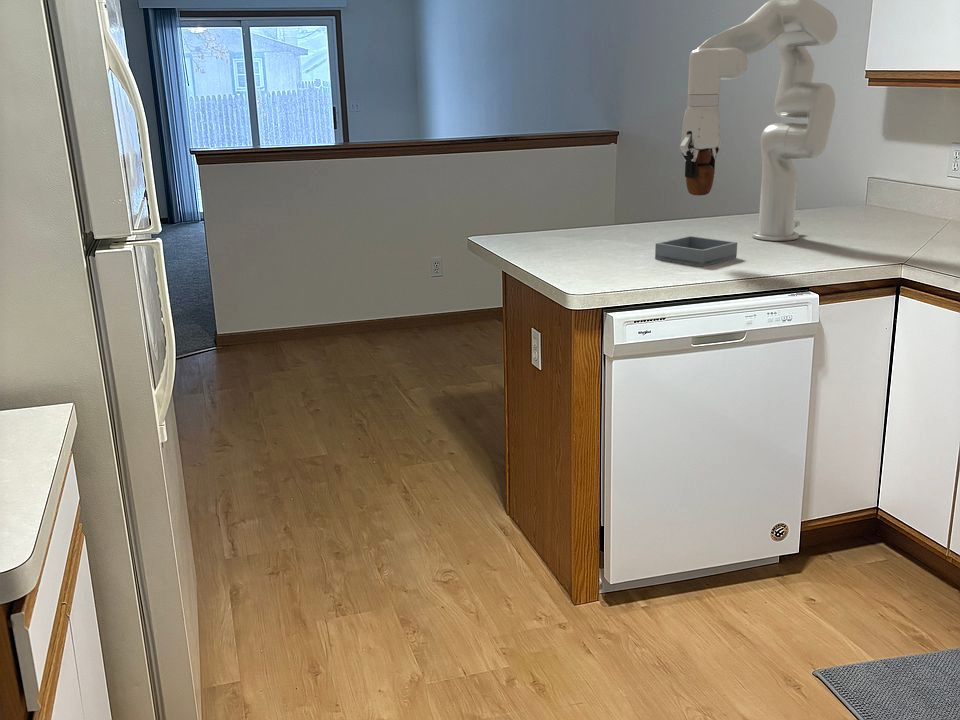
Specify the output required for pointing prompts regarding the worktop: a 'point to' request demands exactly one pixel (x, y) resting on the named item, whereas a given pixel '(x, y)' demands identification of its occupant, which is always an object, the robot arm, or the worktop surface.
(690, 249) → the slate tray
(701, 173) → the wooden figurine
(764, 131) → the robot arm
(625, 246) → the worktop surface
